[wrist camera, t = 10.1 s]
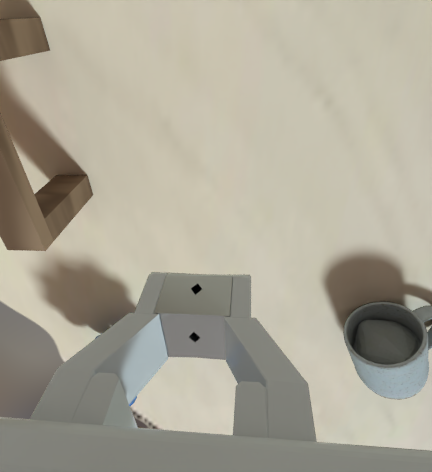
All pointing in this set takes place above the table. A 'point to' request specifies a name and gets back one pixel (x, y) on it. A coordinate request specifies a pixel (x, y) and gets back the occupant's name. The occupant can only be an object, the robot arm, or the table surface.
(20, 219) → the bridge
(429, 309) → the ceramic mug
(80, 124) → the table surface
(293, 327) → the table surface
